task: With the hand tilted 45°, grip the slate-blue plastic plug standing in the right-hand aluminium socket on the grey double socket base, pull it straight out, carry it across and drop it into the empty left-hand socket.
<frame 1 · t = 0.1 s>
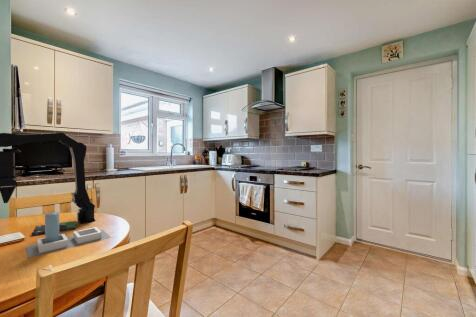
hand: (5, 201, 93), 15 cm above the table, tool pointing down, fingers open, 9 cm apart
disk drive: (56, 232, 100), on the table
plug: (52, 246, 83), point 1 cm above the table, touching grey double socket base
grey double socket base: (70, 244, 87), on the table
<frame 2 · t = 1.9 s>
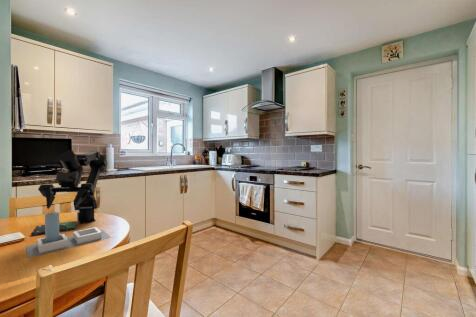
hand: (61, 207, 90), 13 cm above the table, tool tilted 45°, fingers open, 9 cm apart
nothing on the table moved.
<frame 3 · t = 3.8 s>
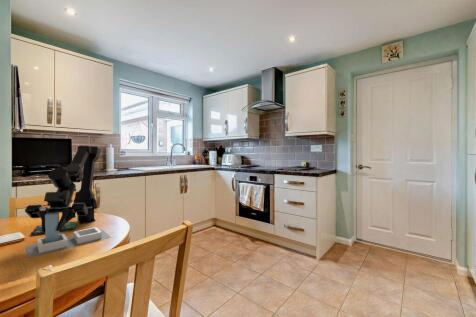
hand: (50, 231, 81), 7 cm above the table, tool tilted 45°, fingers closed on plug, 4 cm apart
plug: (52, 246, 83), point 1 cm above the table, touching gripper, grey double socket base
everything else where it was.
when the fingers open (8 cm above the table, at t = 7.2 s): plug drops 1 cm, resting on grey double socket base.
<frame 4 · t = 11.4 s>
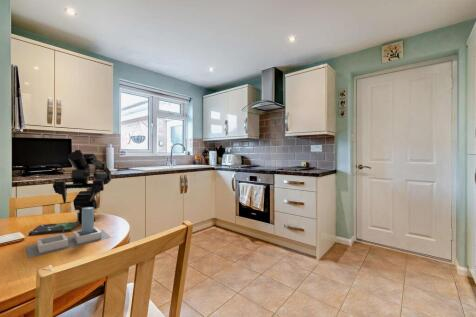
hand: (77, 201, 99), 14 cm above the table, tool tilted 45°, fingers open, 9 cm apart
plug: (87, 237, 91), point 1 cm above the table, touching grey double socket base
at the end: plug 0.0 cm from the target spot on the grey double socket base, point 1.0 cm above the grey double socket base's base; plug tilted 1°; the gripper is holding nothing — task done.
